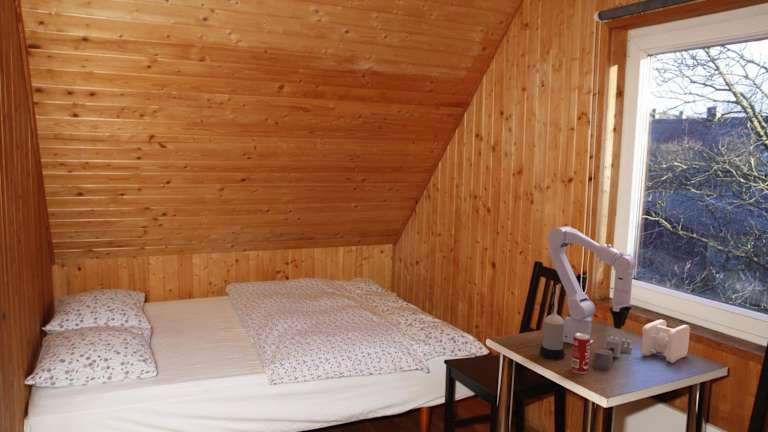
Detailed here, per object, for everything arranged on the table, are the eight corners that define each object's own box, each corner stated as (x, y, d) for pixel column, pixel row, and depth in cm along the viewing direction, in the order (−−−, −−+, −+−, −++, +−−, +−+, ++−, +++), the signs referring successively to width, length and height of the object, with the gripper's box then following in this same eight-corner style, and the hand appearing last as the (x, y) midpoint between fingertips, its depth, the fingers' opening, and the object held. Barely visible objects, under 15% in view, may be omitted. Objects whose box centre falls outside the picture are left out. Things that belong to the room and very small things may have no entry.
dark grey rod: (614, 345, 213) (615, 336, 213) (624, 348, 211) (625, 338, 211) (597, 362, 196) (598, 351, 196) (608, 364, 194) (609, 354, 194)
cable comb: (608, 347, 216) (609, 335, 215) (631, 352, 211) (632, 340, 210) (607, 348, 214) (608, 337, 213) (630, 353, 209) (631, 342, 209)
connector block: (596, 364, 198) (597, 349, 197) (611, 367, 195) (612, 353, 194) (593, 366, 195) (594, 352, 195) (609, 370, 192) (610, 355, 192)
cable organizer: (669, 365, 199) (672, 332, 197) (638, 356, 207) (641, 324, 205) (687, 356, 209) (691, 324, 207) (658, 348, 217) (660, 317, 215)
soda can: (582, 367, 194) (585, 332, 193) (590, 373, 189) (593, 337, 188) (568, 368, 193) (570, 332, 192) (575, 374, 188) (578, 338, 187)
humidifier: (569, 357, 203) (574, 286, 200) (552, 361, 199) (557, 289, 196) (551, 350, 210) (556, 281, 207) (534, 353, 206) (539, 283, 203)
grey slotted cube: (608, 351, 208) (609, 337, 207) (620, 354, 206) (621, 340, 205) (605, 354, 205) (606, 340, 204) (617, 357, 202) (618, 343, 202)
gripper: (629, 295, 199) (626, 334, 201) (639, 287, 211) (636, 324, 212) (607, 291, 203) (604, 329, 205) (618, 284, 215) (615, 320, 217)
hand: (619, 326), depth 209 cm, fingers open, 4 cm apart
